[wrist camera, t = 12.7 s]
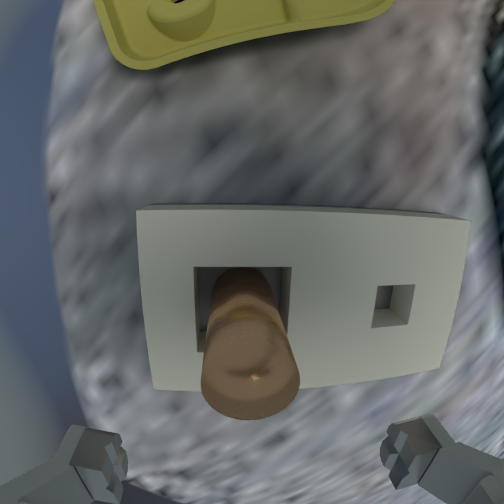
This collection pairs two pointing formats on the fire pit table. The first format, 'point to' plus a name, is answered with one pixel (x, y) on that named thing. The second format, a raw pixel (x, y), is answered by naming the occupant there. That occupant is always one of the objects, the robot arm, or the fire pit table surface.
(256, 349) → the brown cylinder
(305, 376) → the fitting block
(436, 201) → the fire pit table surface
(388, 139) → the fire pit table surface
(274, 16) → the plastic component
